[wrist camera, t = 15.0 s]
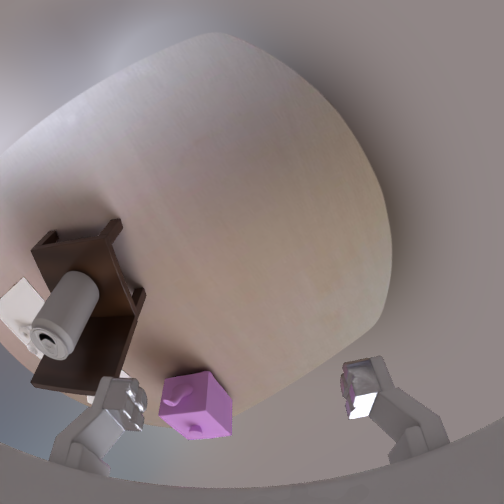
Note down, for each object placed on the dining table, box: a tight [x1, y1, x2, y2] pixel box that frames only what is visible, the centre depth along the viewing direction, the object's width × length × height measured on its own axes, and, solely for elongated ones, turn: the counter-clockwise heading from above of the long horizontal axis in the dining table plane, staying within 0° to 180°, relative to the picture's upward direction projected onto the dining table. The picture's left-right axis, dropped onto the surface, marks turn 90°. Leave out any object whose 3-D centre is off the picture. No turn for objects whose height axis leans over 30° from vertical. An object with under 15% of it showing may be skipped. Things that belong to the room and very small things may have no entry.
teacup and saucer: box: [18, 324, 43, 356], centre depth 52 cm, size 9×8×4 cm
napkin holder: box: [87, 370, 131, 404], centre depth 58 cm, size 15×11×6 cm
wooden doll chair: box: [31, 219, 146, 396], centre depth 36 cm, size 14×14×20 cm
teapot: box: [159, 371, 232, 440], centre depth 55 cm, size 20×10×12 cm, turn 20°
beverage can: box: [30, 271, 99, 360], centre depth 34 cm, size 6×6×12 cm
